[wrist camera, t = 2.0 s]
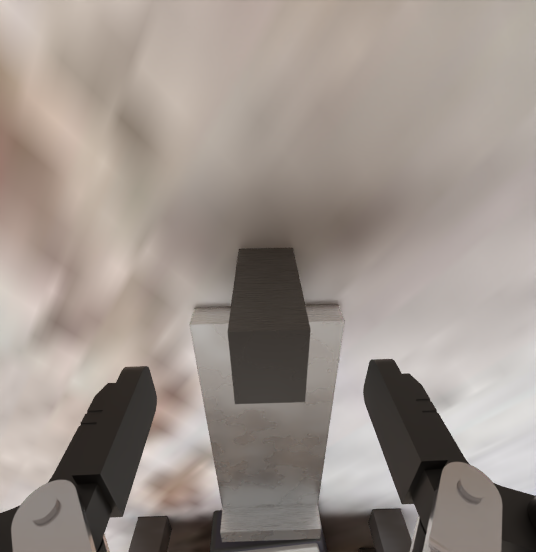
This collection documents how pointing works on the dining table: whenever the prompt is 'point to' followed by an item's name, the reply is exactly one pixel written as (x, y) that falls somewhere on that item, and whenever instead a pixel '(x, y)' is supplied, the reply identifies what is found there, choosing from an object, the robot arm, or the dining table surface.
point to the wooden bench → (388, 548)
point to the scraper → (268, 397)
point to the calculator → (263, 542)
